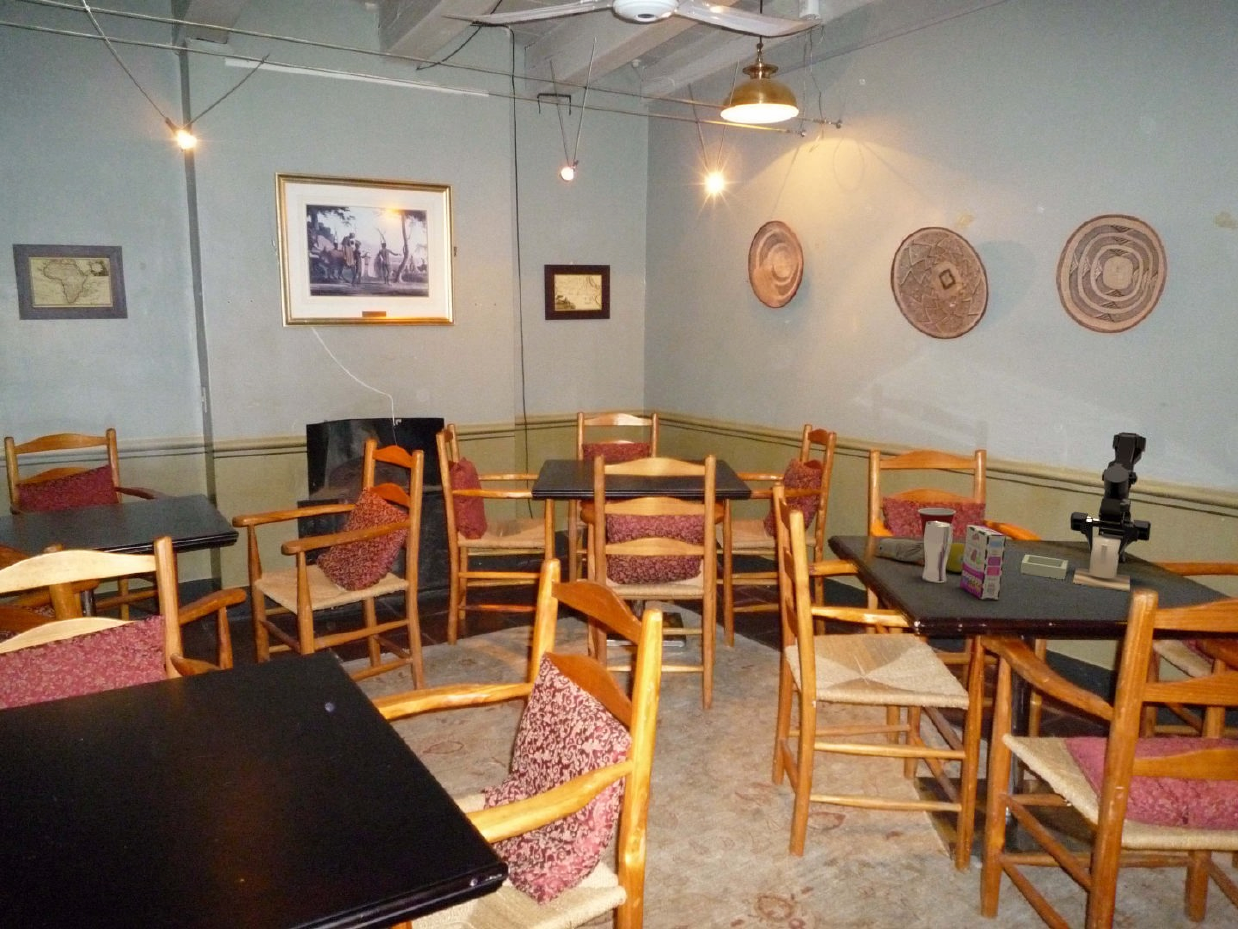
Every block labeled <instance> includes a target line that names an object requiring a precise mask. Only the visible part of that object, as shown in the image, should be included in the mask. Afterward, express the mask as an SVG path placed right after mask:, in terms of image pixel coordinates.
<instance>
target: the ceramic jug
mask: <svg viewBox="0 0 1238 929" xmlns="http://www.w3.org/2000/svg"><path fill="white" fill-rule="evenodd" d="M1120 542H1121V540H1120V539H1118V538H1115V537H1110V536H1100V535H1093V544H1092V551H1091V550H1090V551H1091V554H1090V559H1089V560H1090V561H1089V568H1088V570H1089V574H1091V575H1093V576H1097V577H1102V578H1115V577H1116V574H1118V573H1117V572H1118V565H1119V562H1118V558H1119V555H1118V552H1119V547H1120Z"/></svg>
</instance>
